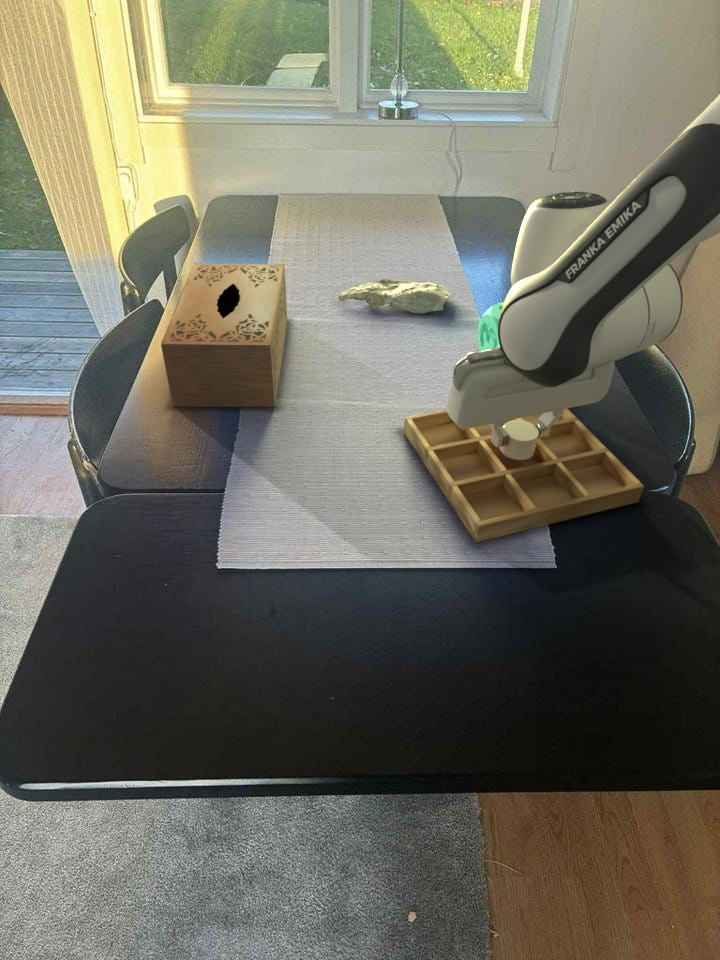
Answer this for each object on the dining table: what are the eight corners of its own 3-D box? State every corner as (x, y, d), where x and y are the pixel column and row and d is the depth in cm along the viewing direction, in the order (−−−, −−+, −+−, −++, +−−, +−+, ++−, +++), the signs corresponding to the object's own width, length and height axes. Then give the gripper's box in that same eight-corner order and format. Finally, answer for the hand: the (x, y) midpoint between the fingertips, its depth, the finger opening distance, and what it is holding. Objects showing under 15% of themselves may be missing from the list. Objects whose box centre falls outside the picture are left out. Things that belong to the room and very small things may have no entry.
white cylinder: (541, 456, 88) (545, 437, 86) (510, 463, 86) (514, 443, 84) (523, 436, 91) (527, 417, 89) (493, 442, 90) (496, 423, 88)
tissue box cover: (275, 407, 99) (270, 345, 93) (172, 406, 99) (160, 344, 92) (287, 320, 119) (284, 264, 112) (202, 319, 118) (194, 263, 112)
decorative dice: (519, 343, 114) (527, 297, 109) (542, 368, 108) (552, 321, 103) (474, 349, 112) (480, 303, 107) (495, 375, 107) (503, 328, 101)
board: (638, 502, 85) (644, 486, 83) (475, 542, 79) (478, 526, 78) (545, 404, 101) (548, 389, 99) (403, 432, 95) (404, 416, 93)
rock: (339, 302, 124) (339, 289, 122) (355, 278, 132) (355, 265, 131) (443, 316, 120) (445, 302, 119) (453, 290, 129) (455, 277, 127)
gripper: (468, 370, 73) (454, 471, 83) (632, 341, 79) (602, 438, 88) (443, 341, 78) (433, 440, 87) (600, 315, 83) (575, 411, 92)
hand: (519, 439), depth 87 cm, fingers closed on white cylinder, 4 cm apart
